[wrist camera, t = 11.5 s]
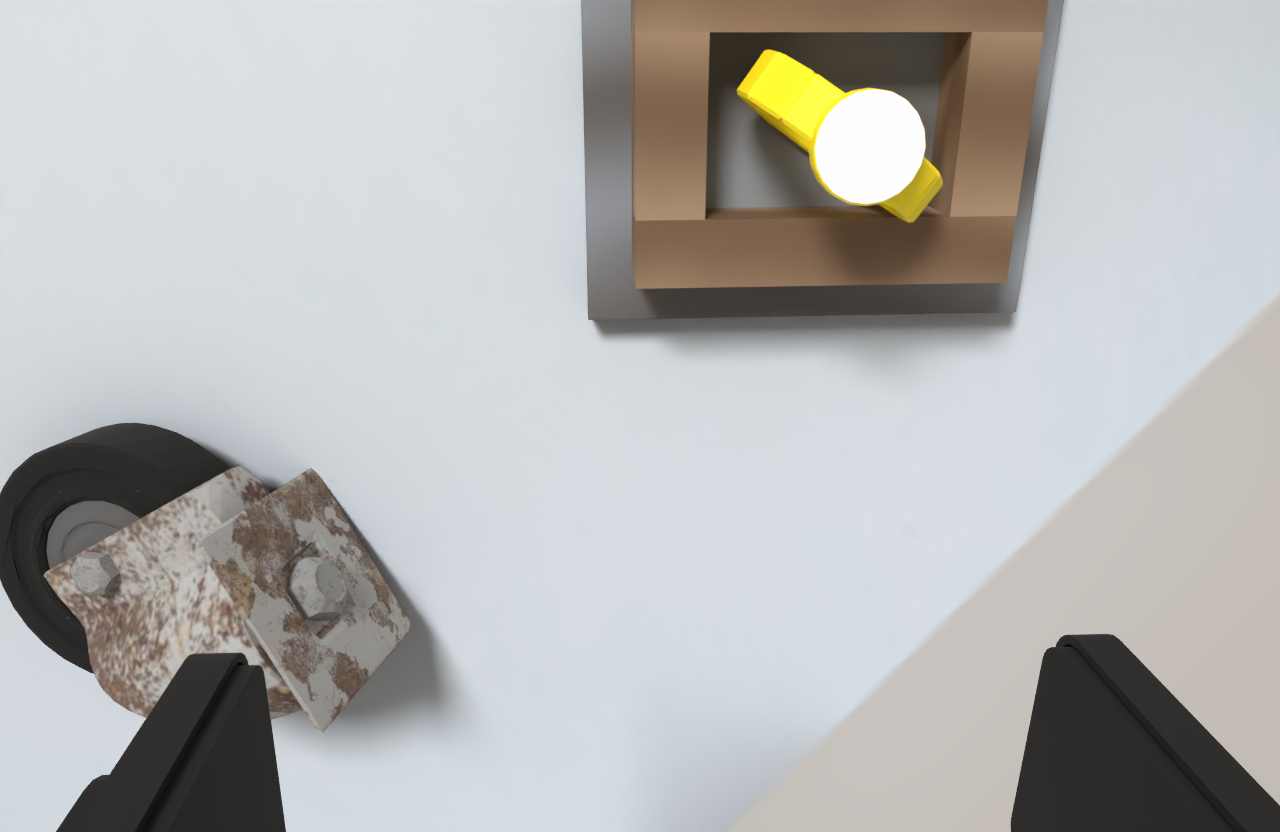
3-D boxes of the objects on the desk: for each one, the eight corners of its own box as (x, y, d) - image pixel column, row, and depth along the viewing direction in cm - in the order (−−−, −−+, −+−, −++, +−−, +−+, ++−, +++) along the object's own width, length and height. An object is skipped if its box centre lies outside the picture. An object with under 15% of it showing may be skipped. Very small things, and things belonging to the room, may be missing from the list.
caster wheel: (51, 464, 35) (254, 342, 32) (219, 715, 36) (426, 620, 34) (-120, 534, 28) (115, 390, 26) (94, 834, 30) (336, 729, 27)
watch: (712, 111, 28) (731, 118, 23) (769, 29, 28) (803, 16, 22) (866, 227, 30) (921, 262, 24) (925, 151, 29) (995, 169, 23)
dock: (1003, 303, 32) (1044, 329, 29) (588, 311, 31) (589, 338, 28) (1062, -98, 27) (1117, -113, 25) (579, -102, 27) (579, -118, 24)
